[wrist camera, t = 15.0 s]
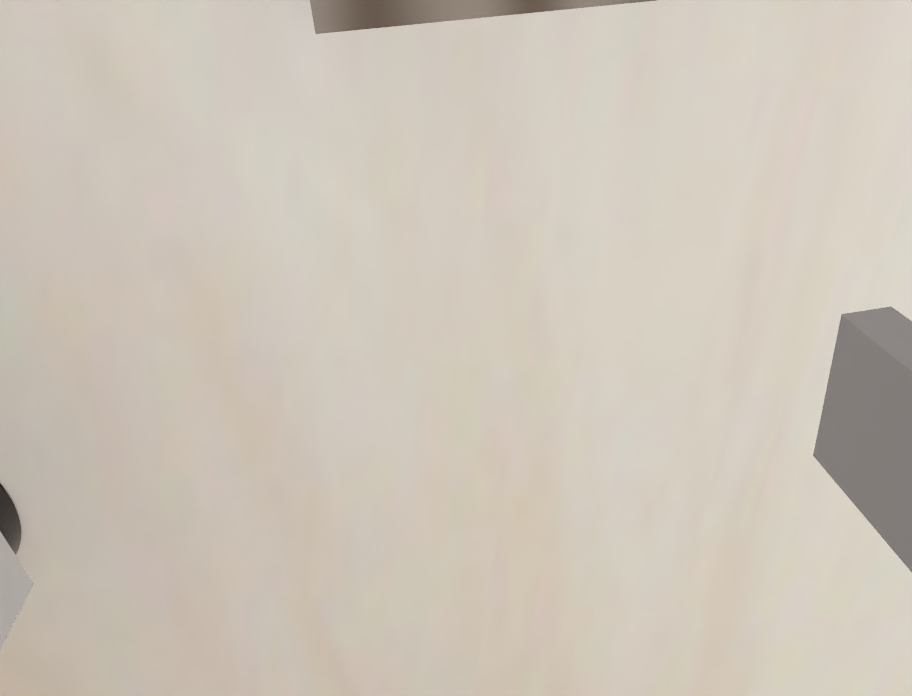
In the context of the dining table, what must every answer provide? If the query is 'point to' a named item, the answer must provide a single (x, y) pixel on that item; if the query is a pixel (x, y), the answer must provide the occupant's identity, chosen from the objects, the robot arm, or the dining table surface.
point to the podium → (428, 11)
